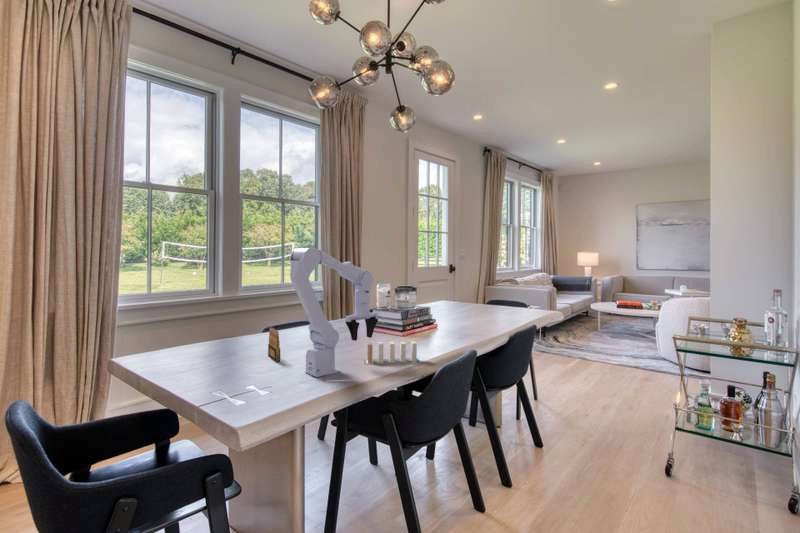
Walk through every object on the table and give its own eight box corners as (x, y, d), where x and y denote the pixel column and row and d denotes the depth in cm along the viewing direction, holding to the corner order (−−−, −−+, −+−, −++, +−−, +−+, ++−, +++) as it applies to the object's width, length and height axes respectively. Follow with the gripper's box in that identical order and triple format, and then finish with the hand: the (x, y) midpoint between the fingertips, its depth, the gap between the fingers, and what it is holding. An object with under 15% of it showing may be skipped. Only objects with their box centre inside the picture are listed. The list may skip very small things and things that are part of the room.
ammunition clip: (268, 356, 163) (267, 326, 163) (272, 355, 164) (272, 326, 164) (275, 362, 154) (275, 331, 154) (280, 361, 155) (280, 330, 155)
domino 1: (379, 363, 152) (379, 344, 152) (378, 360, 156) (378, 342, 156) (383, 362, 153) (383, 344, 152) (382, 360, 157) (382, 341, 156)
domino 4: (412, 361, 154) (412, 343, 154) (410, 359, 158) (410, 341, 158) (416, 361, 154) (416, 343, 154) (414, 359, 158) (414, 341, 158)
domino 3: (401, 362, 154) (401, 343, 153) (399, 359, 158) (400, 341, 157) (405, 362, 154) (405, 343, 154) (404, 359, 158) (404, 341, 158)
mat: (364, 365, 150) (364, 364, 150) (363, 360, 157) (363, 359, 157) (420, 363, 153) (420, 362, 153) (417, 358, 160) (417, 357, 160)
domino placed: (368, 363, 152) (368, 344, 152) (367, 360, 156) (367, 342, 156) (372, 363, 152) (372, 344, 152) (371, 360, 156) (371, 342, 156)
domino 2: (390, 362, 153) (390, 344, 153) (389, 359, 157) (389, 341, 157) (394, 362, 153) (394, 344, 153) (393, 359, 157) (393, 341, 157)
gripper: (354, 305, 145) (354, 343, 145) (383, 302, 155) (383, 337, 156) (341, 303, 149) (341, 340, 150) (370, 300, 160) (370, 334, 161)
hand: (362, 338), depth 153 cm, fingers open, 7 cm apart
